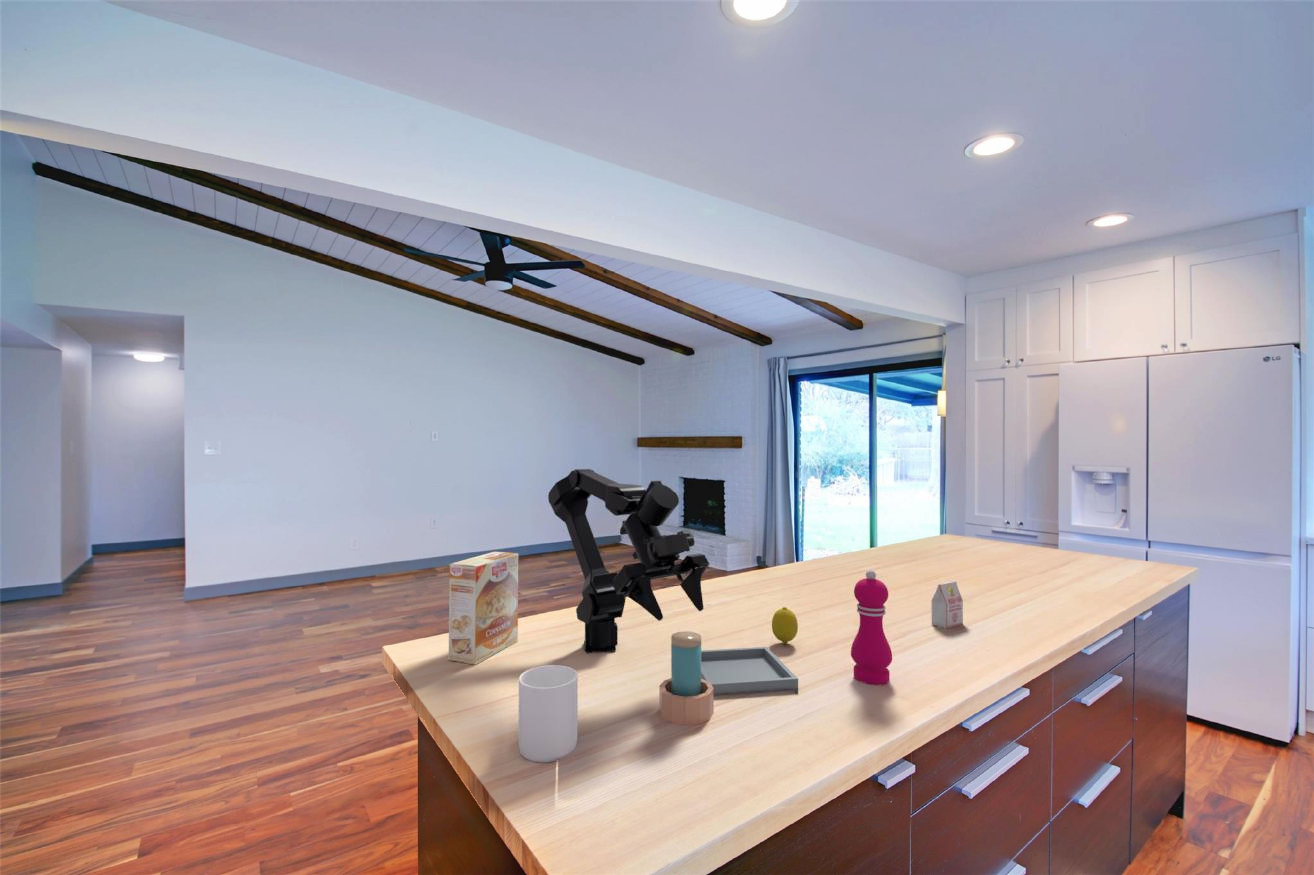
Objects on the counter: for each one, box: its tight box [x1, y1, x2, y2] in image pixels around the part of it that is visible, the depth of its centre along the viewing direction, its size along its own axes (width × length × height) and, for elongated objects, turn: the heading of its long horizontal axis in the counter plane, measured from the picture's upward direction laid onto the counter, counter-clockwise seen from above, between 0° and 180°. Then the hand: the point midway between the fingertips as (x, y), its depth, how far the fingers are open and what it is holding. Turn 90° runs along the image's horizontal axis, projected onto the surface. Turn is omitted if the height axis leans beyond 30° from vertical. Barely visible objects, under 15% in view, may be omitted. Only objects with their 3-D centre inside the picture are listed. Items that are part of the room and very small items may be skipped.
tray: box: [701, 646, 799, 697], centre depth 107 cm, size 16×16×2 cm
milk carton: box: [931, 581, 964, 629], centre depth 138 cm, size 4×7×10 cm, turn 121°
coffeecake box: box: [448, 551, 520, 665], centre depth 121 cm, size 15×7×20 cm, turn 160°
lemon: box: [771, 606, 799, 645], centre depth 125 cm, size 6×6×8 cm
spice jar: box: [670, 630, 702, 697], centre depth 92 cm, size 5×5×12 cm
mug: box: [518, 664, 579, 764], centre depth 83 cm, size 12×8×10 cm
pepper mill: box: [850, 569, 893, 686], centre depth 106 cm, size 7×7×20 cm
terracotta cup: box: [658, 678, 715, 726], centre depth 92 cm, size 8×8×4 cm
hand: (681, 614), depth 101 cm, fingers open, 9 cm apart
